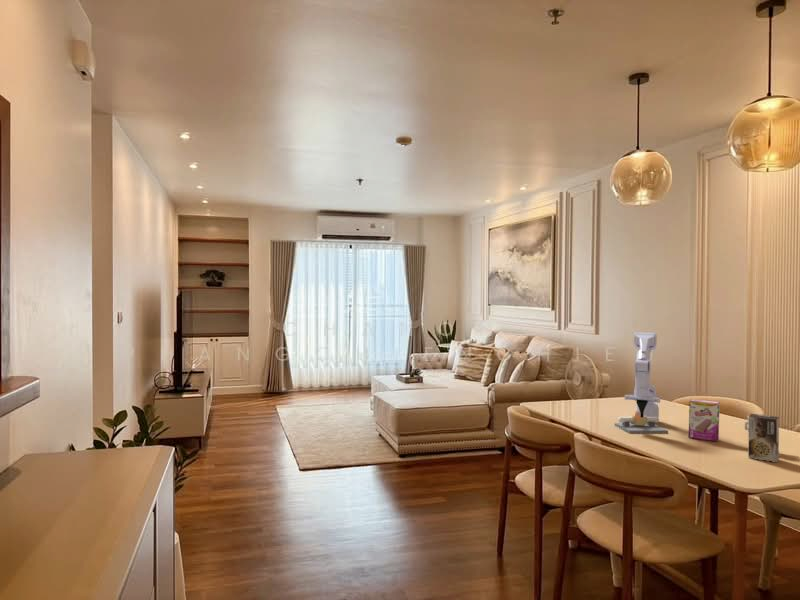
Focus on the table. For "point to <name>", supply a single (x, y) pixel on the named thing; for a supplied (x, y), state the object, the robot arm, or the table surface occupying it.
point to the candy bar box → (704, 420)
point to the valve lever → (637, 415)
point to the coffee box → (763, 437)
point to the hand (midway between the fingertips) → (641, 417)
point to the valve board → (640, 425)
